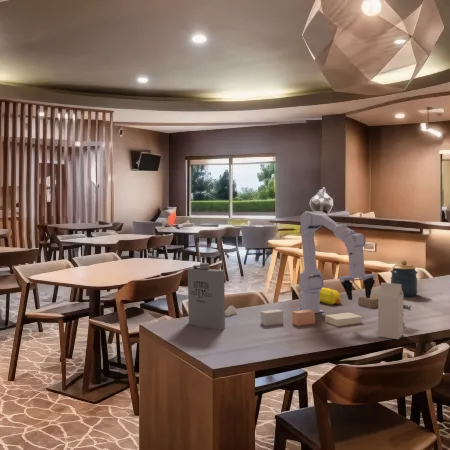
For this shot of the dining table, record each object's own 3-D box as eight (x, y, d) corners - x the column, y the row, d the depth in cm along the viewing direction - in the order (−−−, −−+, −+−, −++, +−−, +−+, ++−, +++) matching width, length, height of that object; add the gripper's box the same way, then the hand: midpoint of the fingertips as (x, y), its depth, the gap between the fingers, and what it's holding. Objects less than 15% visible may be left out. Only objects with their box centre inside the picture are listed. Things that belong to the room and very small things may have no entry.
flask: (185, 323, 201) (184, 261, 200) (193, 321, 205) (192, 260, 204) (219, 330, 191) (218, 265, 189) (226, 327, 194) (225, 263, 193)
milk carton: (398, 339, 175) (398, 285, 174) (378, 337, 178) (378, 284, 178) (403, 335, 181) (403, 282, 180) (383, 332, 184) (383, 281, 184)
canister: (395, 291, 264) (395, 258, 263) (420, 294, 257) (420, 259, 256) (387, 295, 254) (387, 260, 253) (413, 298, 246) (413, 262, 245)
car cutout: (230, 313, 221) (230, 303, 221) (241, 315, 216) (241, 305, 216) (205, 319, 210) (205, 308, 210) (216, 322, 206) (216, 311, 205)
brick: (371, 308, 226) (371, 298, 225) (356, 305, 233) (356, 295, 232) (395, 304, 234) (395, 294, 234) (380, 301, 242) (380, 291, 241)
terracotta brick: (292, 323, 200) (292, 311, 199) (309, 321, 203) (309, 309, 203) (297, 325, 196) (297, 313, 196) (314, 323, 199) (314, 311, 199)
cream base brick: (325, 322, 202) (325, 315, 202) (349, 319, 207) (349, 312, 206) (337, 327, 194) (337, 319, 194) (362, 323, 199) (362, 316, 199)
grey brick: (260, 323, 200) (260, 311, 200) (278, 321, 204) (277, 309, 203) (265, 325, 197) (265, 313, 196) (283, 323, 200) (283, 311, 200)
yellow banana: (333, 306, 231) (345, 304, 235) (333, 292, 230) (345, 290, 235) (306, 300, 246) (318, 298, 250) (306, 286, 245) (318, 285, 250)
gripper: (344, 265, 191) (346, 301, 191) (378, 263, 194) (381, 298, 194) (336, 265, 198) (338, 299, 198) (369, 262, 201) (372, 296, 201)
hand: (359, 298), depth 196 cm, fingers open, 7 cm apart
